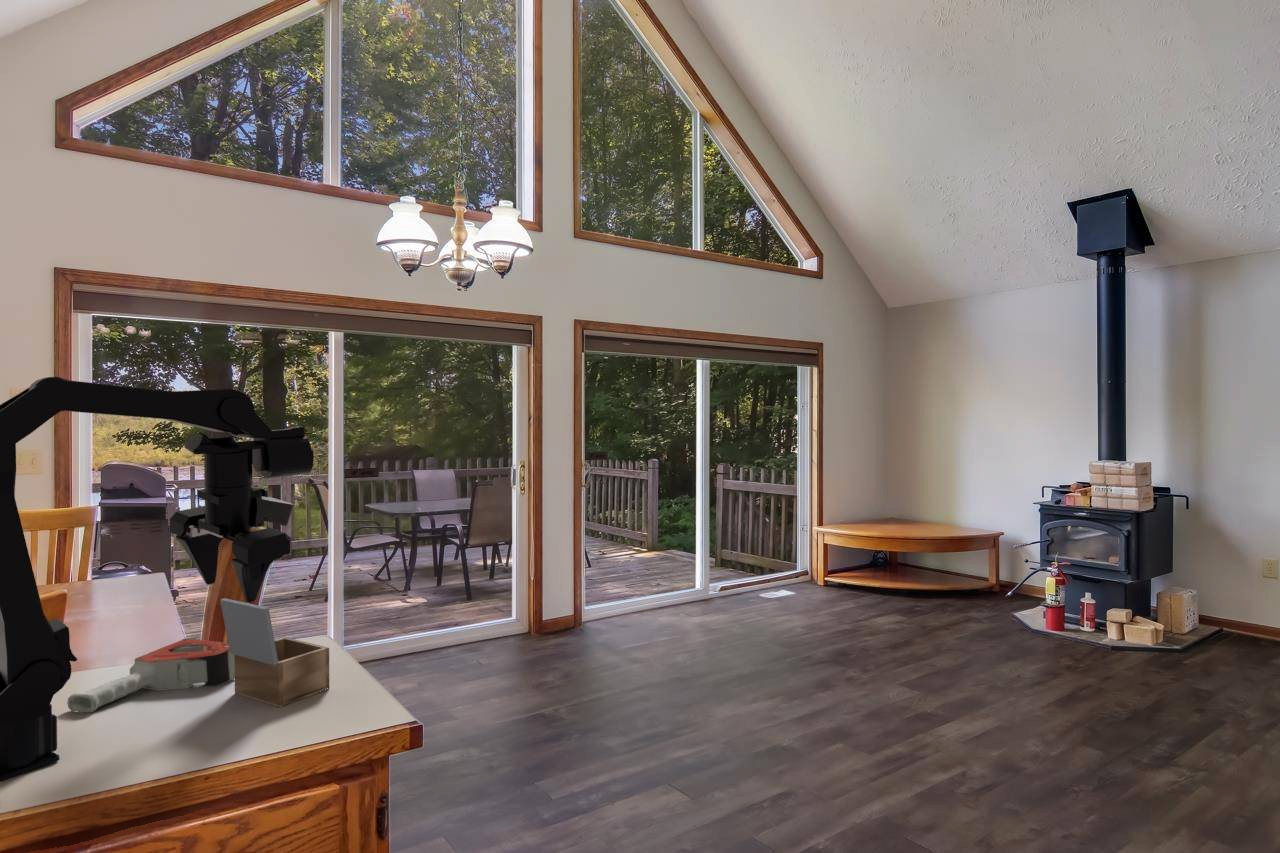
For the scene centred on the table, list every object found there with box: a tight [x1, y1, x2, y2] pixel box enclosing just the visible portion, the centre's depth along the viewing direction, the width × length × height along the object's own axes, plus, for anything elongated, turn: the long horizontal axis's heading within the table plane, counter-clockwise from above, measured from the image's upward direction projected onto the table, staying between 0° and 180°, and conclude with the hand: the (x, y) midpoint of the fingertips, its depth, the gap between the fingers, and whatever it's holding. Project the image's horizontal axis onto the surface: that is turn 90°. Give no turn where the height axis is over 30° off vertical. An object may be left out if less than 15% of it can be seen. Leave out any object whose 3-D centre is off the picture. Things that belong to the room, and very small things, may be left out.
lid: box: [220, 597, 278, 665], centre depth 106 cm, size 8×10×1 cm
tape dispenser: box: [67, 636, 235, 714], centre depth 113 cm, size 18×5×20 cm
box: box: [234, 637, 330, 708], centre depth 110 cm, size 8×10×6 cm
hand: (230, 592), depth 106 cm, fingers open, 9 cm apart
